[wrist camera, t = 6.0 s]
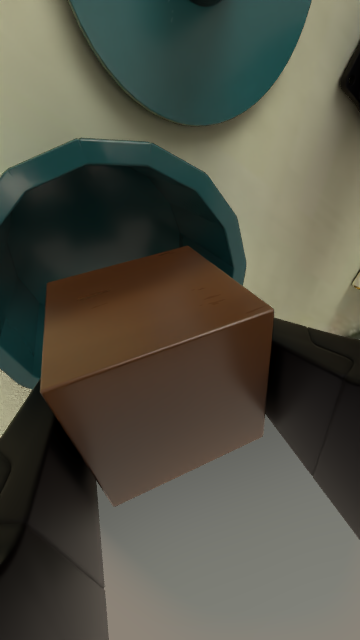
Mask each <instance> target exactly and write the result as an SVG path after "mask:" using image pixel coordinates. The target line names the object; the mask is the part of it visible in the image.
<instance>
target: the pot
mask: <svg viewBox="0 0 360 640" xmlns="http://www.w3.org/2000/svg"><path fill="white" fill-rule="evenodd" d="M184 246H189V247H191V248H192V249H193V250H195V251H196V252H197V253H199V254H200V255H201V256H203V257H204V258H205V259H207V260H208V261H209V262H211V263H212V264H214V265H215V266H216V267H218V268H219V269H220V270H222V271H223V272H224V273H226V274H227V275H228V276H230V277H231V278H233V279H234V280H235V281H237V282H238V283H239V284H241V285H242V286H243V282H244V276H245V270H246V259H245V254H244V249H243V244H242V239H241V234H240V229H239V224H238V219H237V216H236V215H235V213H234V212H233V210H232V209H231V208H230V206H229V205H228V203H227V202H226V201H225V199H224V198H223V196H222V195H221V193H220V192H219V191H218V189H217V188H216V186H215V185H214V183H213V182H212V181H211V179H210V178H209V176H208V175H207V174H206V173H205V172H203V171H201V170H200V169H198V168H196V167H194V166H193V165H191V164H189V163H187V162H186V161H184V160H182V159H180V158H178V157H177V156H175V155H173V154H171V153H170V152H168V151H166V150H164V149H163V148H161V147H159V146H157V145H156V144H154V143H150V142H142V141H125V140H108V139H91V138H79V139H77V138H76V139H74V140H72V141H69V142H67V143H65V144H62V145H60V146H58V147H56V148H53V149H51V150H49V151H47V152H44V153H42V154H40V155H38V156H35V157H33V158H31V159H28V160H26V161H24V162H22V163H19V164H17V165H15V166H13V167H10V168H8V169H7V170H6V171H5V172H4V173H3V174H2V176H1V177H0V369H1V370H2V371H3V372H5V373H6V374H7V375H8V376H9V377H10V378H12V379H13V380H14V381H15V382H16V383H18V384H19V385H21V386H23V387H26V388H29V389H32V390H33V389H34V387H35V385H36V384H37V382H38V381H39V379H40V378H41V368H42V351H43V335H44V318H45V302H46V285H47V283H48V282H52V281H56V280H60V279H63V278H67V277H71V276H75V275H78V274H82V273H86V272H90V271H93V270H97V269H101V268H105V267H109V266H112V265H116V264H120V263H124V262H127V261H131V260H135V259H139V258H143V257H146V256H150V255H154V254H158V253H161V252H165V251H169V250H173V249H176V248H180V247H184Z"/></svg>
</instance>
